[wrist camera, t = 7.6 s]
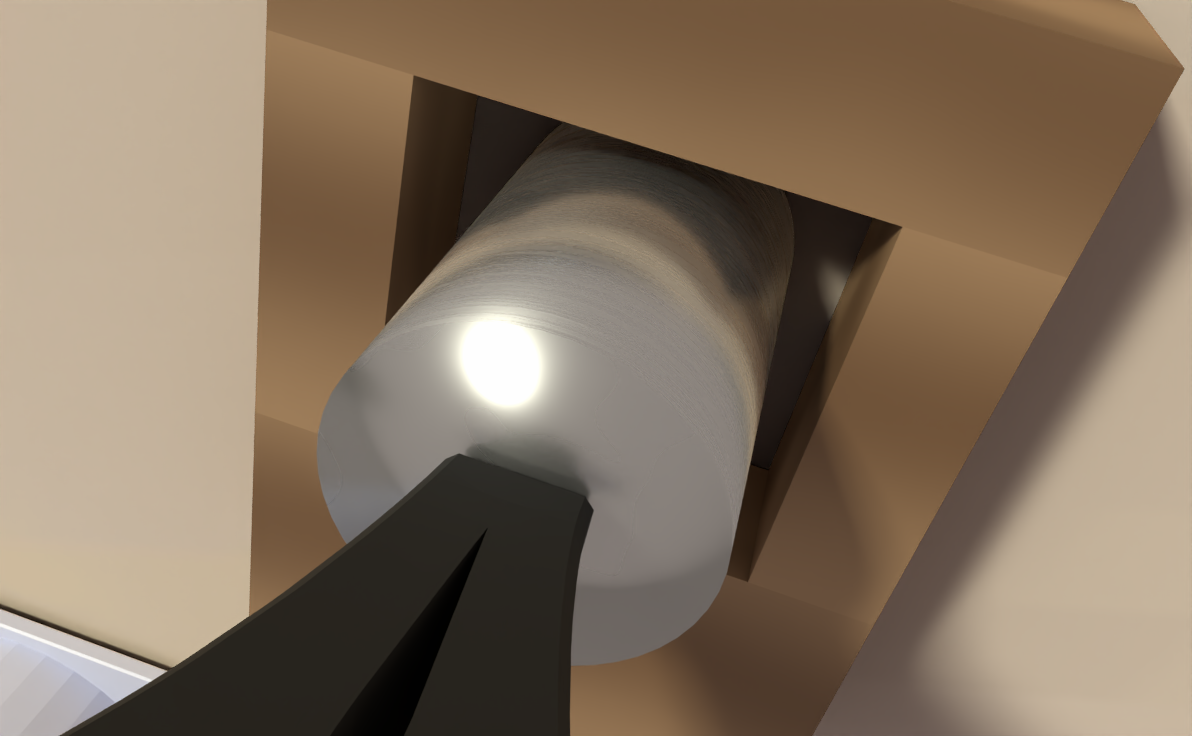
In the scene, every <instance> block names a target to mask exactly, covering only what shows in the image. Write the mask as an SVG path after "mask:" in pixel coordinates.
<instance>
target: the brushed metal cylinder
mask: <svg viewBox="0 0 1192 736" xmlns="http://www.w3.org/2000/svg"><path fill="white" fill-rule="evenodd" d="M794 241H795V239H794V227H793V219H792V215H791V211H790V206H789V203H788V200H787V198H786V195H785V192H784V190H782V189H779V188H776V187H773V186H770V185H766V184H763V183H760V182H757V181H753V180H750V179H747V178H744V177H740V176H737V175H734V174H731V173H728V172H724V171H721V170H718V169H715V168H711V167H708V166H705V165H702V164H699V163H695V162H692V161H689V160H686V159H682V158H679V157H676V156H673V155H670V154H666V153H663V152H660V151H657V150H653V149H650V148H647V147H644V146H640V145H637V144H634V143H631V142H628V141H624V140H621V139H618V138H615V137H611V136H608V135H605V134H602V133H599V132H595V131H592V130H589V129H586V128H582V127H579V126H576V125H573V124H570V123H566V122H563V123H562V124H561V125H559V126H558V127H557V128H556V129H554V130H553V131H552V132H551V133H550V134H549V135H548V136H547V137H546V138H545V139H544V140H543V141H542V142H541V143H540V144H539V146H538V147H537V148H536V149H535V150H534V151H533V153H532V154H531V155H530V156H529V157H528V159H527V160H526V161H525V162H524V163H523V164H522V166H521V167H520V168H519V169H518V170H517V171H516V173H515V174H514V175H513V176H512V177H511V179H510V180H509V181H508V182H507V183H506V184H505V186H504V187H503V188H502V189H501V190H500V191H499V193H498V194H497V195H496V196H495V197H494V199H493V200H492V201H491V202H490V203H489V204H488V206H487V207H486V208H485V209H484V210H483V212H482V213H481V214H480V215H479V216H478V217H477V219H476V220H475V221H474V222H473V223H472V224H471V226H470V227H469V228H468V229H467V230H466V232H465V233H464V234H463V235H462V236H461V237H460V239H459V240H458V241H457V242H456V243H455V244H454V246H453V247H452V248H451V249H450V250H449V252H448V253H447V254H446V255H445V256H444V257H443V259H442V260H441V261H440V262H439V263H438V265H437V266H436V267H435V268H434V269H433V270H432V272H431V273H430V274H429V275H428V276H427V277H426V279H425V280H424V281H423V282H422V283H421V285H420V286H419V287H418V288H417V289H416V290H415V292H414V293H413V294H412V295H411V296H410V297H409V299H408V300H407V301H406V302H405V303H404V305H403V306H402V307H401V308H400V309H399V310H398V312H397V313H396V314H395V315H394V316H393V317H392V319H391V320H390V321H389V322H388V323H387V325H386V326H385V327H384V328H383V329H382V330H381V332H380V333H379V334H378V335H377V336H376V338H375V339H374V340H373V341H372V342H371V343H370V345H369V346H368V347H367V348H366V349H365V350H364V352H363V353H362V354H361V355H360V356H359V358H358V359H357V360H356V361H355V362H354V363H353V365H352V366H351V367H350V368H349V369H348V370H347V372H346V373H345V374H344V375H343V377H342V378H341V380H340V381H339V383H338V384H337V385H336V387H335V388H334V390H333V391H332V393H331V395H330V397H329V400H328V402H327V404H326V406H325V409H324V411H323V414H322V418H321V422H320V426H319V430H318V440H317V464H318V475H319V479H320V484H321V488H322V492H323V496H324V499H325V501H326V504H327V507H328V509H329V512H330V515H331V517H332V519H333V521H334V523H335V525H336V527H337V529H338V530H339V532H340V534H341V536H342V538H343V539H344V541H345V542H346V544H348V543H349V542H350V541H352V540H353V539H354V538H355V537H356V536H358V535H359V534H360V533H361V532H363V531H364V530H365V529H366V528H367V527H369V526H370V525H371V524H372V523H374V522H375V521H376V520H377V519H378V518H380V517H381V516H382V515H383V514H385V513H386V512H387V511H388V510H389V509H390V508H392V507H393V506H394V505H395V504H396V503H397V502H399V501H400V500H401V499H402V498H403V497H404V496H406V495H407V494H408V493H409V492H410V491H411V490H412V489H413V488H415V487H416V486H417V485H418V484H419V483H420V482H421V481H422V480H423V479H425V478H426V477H427V476H428V475H429V474H430V473H431V472H432V471H433V470H434V469H435V468H436V467H437V466H439V465H440V464H441V463H442V462H443V461H444V460H445V459H446V458H449V457H451V456H454V455H456V454H459V453H460V454H462V455H465V456H468V457H471V458H474V459H477V460H480V461H483V462H486V463H489V464H492V465H495V466H498V467H500V468H503V469H506V470H509V471H512V472H515V473H518V474H521V475H524V476H527V477H530V478H533V479H535V480H538V481H541V482H544V483H547V484H550V485H553V486H556V487H559V488H562V489H565V490H568V491H570V492H573V493H576V494H579V495H582V496H585V497H586V498H587V500H588V502H589V503H590V505H591V506H592V508H593V509H594V512H593V515H592V519H591V522H590V526H589V529H588V532H587V536H586V539H585V543H584V546H583V550H582V553H581V558H580V564H579V570H578V577H577V584H576V594H575V604H574V613H573V626H572V643H571V666H580V665H598V664H605V663H613V662H618V661H622V660H626V659H630V658H634V657H638V656H641V655H643V654H646V653H648V652H651V651H653V650H656V649H658V648H660V647H662V646H664V645H665V644H667V643H669V642H671V641H672V640H674V639H676V638H678V637H679V636H680V635H682V634H683V633H684V632H685V631H687V630H688V629H689V628H690V627H692V626H693V625H694V624H695V623H696V622H697V621H698V620H699V619H700V618H701V616H702V615H703V614H704V613H705V612H706V611H707V610H708V609H709V607H710V605H711V604H712V602H713V601H714V599H715V598H716V596H717V594H718V593H719V591H720V589H721V586H722V584H723V581H724V579H725V576H726V574H727V571H728V566H729V561H730V556H731V552H732V547H733V542H734V537H735V533H736V528H737V523H738V518H739V514H740V509H741V504H742V499H743V495H744V490H745V485H746V481H747V476H748V471H749V466H750V462H751V457H752V452H753V447H754V443H755V438H756V433H757V428H758V424H759V419H760V414H761V409H762V405H763V400H764V395H765V390H766V386H767V381H768V376H769V371H770V367H771V362H772V357H773V352H774V348H775V343H776V338H777V333H778V329H779V324H780V319H781V314H782V310H783V305H784V300H785V295H786V291H787V286H788V281H789V276H790V272H791V267H792V262H793V257H794Z"/></svg>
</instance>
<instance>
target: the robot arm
mask: <svg viewBox="0 0 1192 736" xmlns="http://www.w3.org/2000/svg"><path fill="white" fill-rule="evenodd" d="M593 512H594V509H593V508H592V506H591V505H590V503H589V502H588V500H587V498H586V497H585V496H582V495H579V494H576V493H573V492H570V491H568V490H565V489H562V488H559V487H556V486H553V485H550V484H547V483H544V482H541V481H538V480H535V479H533V478H530V477H527V476H524V475H521V474H518V473H515V472H512V471H509V470H506V469H503V468H500V467H498V466H495V465H492V464H489V463H486V462H483V461H480V460H477V459H474V458H471V457H468V456H465V455H462V454H460V453H459V454H456V455H454V456H451V457H449V458H446V459H445V460H444V461H443V462H442V463H441V464H440V465H439V466H437V467H436V468H435V469H434V470H433V471H432V472H431V473H430V474H429V475H428V476H427V477H426V478H425V479H423V480H422V481H421V482H420V483H419V484H418V485H417V486H416V487H415V488H413V489H412V490H411V491H410V492H409V493H408V494H407V495H406V496H404V497H403V498H402V499H401V500H400V501H399V502H397V503H396V504H395V505H394V506H393V507H392V508H390V509H389V510H388V511H387V512H386V513H385V514H383V515H382V516H381V517H380V518H378V519H377V520H376V521H375V522H374V523H372V524H371V525H370V526H369V527H367V528H366V529H365V530H364V531H363V532H361V533H360V534H359V535H358V536H356V537H355V538H354V539H353V540H352V541H350V542H349V543H348V544H346V545H345V546H344V547H342V548H341V549H340V550H339V551H337V552H336V553H335V554H333V555H332V556H331V557H329V558H328V559H327V560H325V561H324V562H323V563H321V564H320V565H319V566H318V567H316V568H315V569H314V570H312V571H311V572H310V573H308V574H307V575H306V576H304V577H303V578H302V579H300V580H299V581H298V582H297V583H295V584H294V585H293V586H291V587H290V588H289V589H287V590H286V591H285V592H283V593H282V594H280V595H279V596H278V597H276V598H275V599H274V600H272V601H271V602H269V603H268V604H267V605H265V606H264V607H262V608H261V609H259V610H258V611H256V612H255V613H253V614H252V615H250V616H249V617H247V618H246V619H244V620H243V621H242V622H240V623H239V624H237V625H236V626H234V627H233V628H231V629H230V630H228V631H227V632H225V633H224V634H222V635H221V636H220V637H218V638H217V639H215V640H214V641H212V642H211V643H209V644H208V645H206V646H205V647H203V648H202V649H200V650H199V651H197V652H196V653H195V654H193V655H192V656H190V657H189V658H187V659H186V660H184V661H182V662H181V663H179V664H178V665H176V666H175V667H173V668H171V669H170V670H168V671H166V670H164V669H161V668H158V667H156V666H153V665H150V664H148V663H145V662H142V661H140V660H137V659H134V658H131V657H129V656H126V655H123V654H121V653H118V652H115V651H113V650H110V649H107V648H105V647H102V646H99V645H96V644H94V643H91V642H88V641H86V640H83V639H80V638H78V637H75V636H72V635H70V634H67V633H64V632H62V631H59V630H56V629H53V628H51V627H48V626H45V625H43V624H40V623H37V622H35V621H32V620H29V619H27V618H24V617H21V616H18V615H16V614H13V613H10V612H8V611H5V610H2V609H0V736H570V686H571V643H572V626H573V613H574V604H575V594H576V584H577V577H578V570H579V564H580V558H581V553H582V550H583V546H584V543H585V539H586V536H587V532H588V529H589V526H590V522H591V519H592V515H593Z"/></svg>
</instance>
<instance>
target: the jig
mask: <svg viewBox="0 0 1192 736" xmlns="http://www.w3.org/2000/svg"><path fill="white" fill-rule="evenodd" d="M1183 70H1184V67H1183V66H1182V65H1181V64H1180V62H1179V61H1178V60H1177V58H1176V57H1175V56H1174V54H1173V53H1172V52H1171V50H1170V49H1169V48H1168V47H1167V45H1166V44H1165V43H1164V41H1163V40H1162V39H1161V37H1160V36H1159V35H1158V34H1157V32H1156V31H1155V30H1154V28H1153V27H1152V26H1151V24H1150V23H1149V22H1148V21H1147V19H1146V18H1145V17H1144V15H1143V14H1142V13H1141V11H1140V10H1139V9H1138V8H1137V6H1136V5H1135V4H1132V3H1128V2H1125V1H1121V0H267V26H266V60H265V94H264V128H263V162H262V196H261V230H260V264H259V298H258V332H257V366H256V401H255V435H254V469H253V503H252V537H251V571H250V605H249V616H250V615H252V614H253V613H255V612H256V611H258V610H259V609H261V608H262V607H264V606H265V605H267V604H268V603H269V602H271V601H272V600H274V599H275V598H276V597H278V596H279V595H280V594H282V593H283V592H285V591H286V590H287V589H289V588H290V587H291V586H293V585H294V584H295V583H297V582H298V581H299V580H300V579H302V578H303V577H304V576H306V575H307V574H308V573H310V572H311V571H312V570H314V569H315V568H316V567H318V566H319V565H320V564H321V563H323V562H324V561H325V560H327V559H328V558H329V557H331V556H332V555H333V554H335V553H336V552H337V551H339V550H340V549H341V548H342V547H344V546H345V545H346V542H345V541H344V539H343V538H342V536H341V534H340V532H339V530H338V529H337V527H336V525H335V523H334V521H333V519H332V517H331V515H330V512H329V509H328V507H327V504H326V501H325V499H324V496H323V492H322V488H321V484H320V479H319V475H318V464H317V440H318V430H319V426H320V422H321V418H322V414H323V411H324V409H325V406H326V404H327V402H328V400H329V397H330V395H331V393H332V391H333V390H334V388H335V387H336V385H337V384H338V383H339V381H340V380H341V378H342V377H343V375H344V374H345V373H346V372H347V370H348V369H349V368H350V367H351V366H352V365H353V363H354V362H355V361H356V360H357V359H358V358H359V356H360V355H361V354H362V353H363V352H364V350H365V349H366V348H367V347H368V346H369V345H370V343H371V342H372V341H373V340H374V339H375V338H376V336H377V335H378V334H379V333H380V332H381V330H382V329H383V328H384V327H385V326H386V325H387V323H388V322H389V321H390V320H391V319H392V317H393V316H394V315H395V314H396V313H397V312H398V310H399V309H400V308H401V307H402V306H403V305H404V303H405V302H406V301H407V300H408V299H409V297H410V296H411V295H412V294H413V293H414V292H415V290H416V289H417V288H418V287H419V286H420V285H421V283H422V282H423V281H424V280H425V279H426V277H427V276H428V275H429V274H430V273H431V272H432V270H433V269H434V268H435V267H436V266H437V265H438V263H439V262H440V261H441V260H442V259H443V257H444V256H445V255H446V254H447V253H448V252H449V250H450V249H451V248H452V247H453V246H454V244H455V239H456V233H457V226H458V220H459V213H460V207H461V200H462V194H463V187H464V181H465V174H466V168H467V161H468V155H469V148H470V142H471V135H472V129H473V122H474V116H475V109H476V103H477V96H478V95H479V96H482V97H486V98H489V99H492V100H495V101H499V102H502V103H505V104H508V105H511V106H515V107H518V108H521V109H524V110H528V111H531V112H534V113H537V114H540V115H544V116H547V117H550V118H553V119H557V120H560V121H563V122H566V123H570V124H573V125H576V126H579V127H582V128H586V129H589V130H592V131H595V132H599V133H602V134H605V135H608V136H611V137H615V138H618V139H621V140H624V141H628V142H631V143H634V144H637V145H640V146H644V147H647V148H650V149H653V150H657V151H660V152H663V153H666V154H670V155H673V156H676V157H679V158H682V159H686V160H689V161H692V162H695V163H699V164H702V165H705V166H708V167H711V168H715V169H718V170H721V171H724V172H728V173H731V174H734V175H737V176H740V177H744V178H747V179H750V180H753V181H757V182H760V183H763V184H766V185H770V186H773V187H776V188H779V189H782V190H786V191H789V192H792V193H795V194H799V195H802V196H805V197H808V198H811V199H815V200H818V201H821V202H824V203H828V204H831V205H834V206H837V207H840V208H844V209H847V210H850V211H853V212H857V213H860V214H863V215H866V216H870V217H873V220H872V222H871V225H870V227H869V229H868V232H867V234H866V237H865V239H864V241H863V244H862V246H861V249H860V251H859V254H858V256H857V258H856V261H855V263H854V266H853V268H852V270H851V273H850V275H849V278H848V280H847V282H846V285H845V287H844V290H843V292H842V294H841V297H840V299H839V302H838V304H837V307H836V309H835V311H834V314H833V316H832V319H831V321H830V323H829V326H828V328H827V331H826V333H825V335H824V338H823V340H822V343H821V345H820V348H819V350H818V352H817V355H816V357H815V360H814V362H813V364H812V367H811V369H810V372H809V374H808V376H807V379H806V381H805V384H804V386H803V389H802V391H801V393H800V396H799V398H798V401H797V403H796V405H795V408H794V410H793V413H792V415H791V417H790V420H789V422H788V425H787V427H786V430H785V432H784V434H783V437H782V439H781V442H780V444H779V446H778V449H777V451H776V454H775V456H774V458H773V461H772V463H771V466H770V468H769V471H768V470H765V469H762V468H759V467H756V466H753V465H750V466H749V471H748V476H747V481H746V485H745V490H744V495H743V499H742V504H741V509H740V514H739V518H738V523H737V528H736V533H735V537H734V542H733V547H732V552H731V556H730V561H729V566H728V571H727V574H726V576H725V579H724V581H723V584H722V586H721V589H720V591H719V593H718V594H717V596H716V598H715V599H714V601H713V602H712V604H711V605H710V607H709V609H708V610H707V611H706V612H705V613H704V614H703V615H702V616H701V618H700V619H699V620H698V621H697V622H696V623H695V624H694V625H693V626H692V627H690V628H689V629H688V630H687V631H685V632H684V633H683V634H682V635H680V636H679V637H678V638H676V639H674V640H672V641H671V642H669V643H667V644H665V645H664V646H662V647H660V648H658V649H656V650H653V651H651V652H648V653H646V654H643V655H641V656H638V657H634V658H630V659H626V660H622V661H618V662H613V663H605V664H598V665H580V666H571V686H570V736H812V735H813V733H814V731H815V730H816V728H817V726H818V724H819V723H820V721H821V719H822V717H823V715H824V714H825V712H826V710H827V708H828V706H829V705H830V703H831V701H832V699H833V697H834V696H835V694H836V692H837V690H838V688H839V687H840V685H841V683H842V681H843V680H844V678H845V676H846V674H847V672H848V671H849V669H850V667H851V665H852V663H853V662H854V660H855V658H856V656H857V654H858V653H859V651H860V649H861V647H862V645H863V644H864V642H865V640H866V638H867V637H868V635H869V633H870V631H871V629H872V628H873V626H874V624H875V622H876V620H877V619H878V617H879V615H880V613H881V611H882V610H883V608H884V606H885V604H886V602H887V601H888V599H889V597H890V595H891V594H892V592H893V590H894V588H895V586H896V585H897V583H898V581H899V579H900V577H901V576H902V574H903V572H904V570H905V568H906V567H907V565H908V563H909V561H910V559H911V558H912V556H913V554H914V552H915V551H916V549H917V547H918V545H919V543H920V542H921V540H922V538H923V536H924V534H925V533H926V531H927V529H928V527H929V525H930V524H931V522H932V520H933V518H934V516H935V515H936V513H937V511H938V509H939V508H940V506H941V504H942V502H943V500H944V499H945V497H946V495H947V493H948V491H949V490H950V488H951V486H952V484H953V482H954V481H955V479H956V477H957V475H958V473H959V472H960V470H961V468H962V466H963V465H964V463H965V461H966V459H967V457H968V456H969V454H970V452H971V450H972V448H973V447H974V445H975V443H976V441H977V439H978V438H979V436H980V434H981V432H982V430H983V429H984V427H985V425H986V423H987V422H988V420H989V418H990V416H991V414H992V413H993V411H994V409H995V407H996V405H997V404H998V402H999V400H1000V398H1001V396H1002V395H1003V393H1004V391H1005V389H1006V387H1007V386H1008V384H1009V382H1010V380H1011V379H1012V377H1013V375H1014V373H1015V371H1016V370H1017V368H1018V366H1019V364H1020V362H1021V361H1022V359H1023V357H1024V355H1025V353H1026V352H1027V350H1028V348H1029V346H1030V344H1031V343H1032V341H1033V339H1034V337H1035V336H1036V334H1037V332H1038V330H1039V328H1040V327H1041V325H1042V323H1043V321H1044V319H1045V318H1046V316H1047V314H1048V312H1049V310H1050V309H1051V307H1052V305H1053V303H1054V301H1055V300H1056V298H1057V296H1058V294H1059V293H1060V291H1061V289H1062V287H1063V285H1064V284H1065V282H1066V280H1067V278H1068V276H1069V275H1070V273H1071V271H1072V269H1073V267H1074V266H1075V264H1076V262H1077V260H1078V258H1079V257H1080V255H1081V253H1082V251H1083V250H1084V248H1085V246H1086V244H1087V242H1088V241H1089V239H1090V237H1091V235H1092V233H1093V232H1094V230H1095V228H1096V226H1097V224H1098V223H1099V221H1100V219H1101V217H1102V215H1103V214H1104V212H1105V210H1106V208H1107V207H1108V205H1109V203H1110V201H1111V199H1112V198H1113V196H1114V194H1115V192H1116V190H1117V189H1118V187H1119V185H1120V183H1121V181H1122V180H1123V178H1124V176H1125V174H1126V172H1127V171H1128V169H1129V167H1130V165H1131V164H1132V162H1133V160H1134V158H1135V156H1136V155H1137V153H1138V151H1139V149H1140V147H1141V146H1142V144H1143V142H1144V140H1145V138H1146V137H1147V135H1148V133H1149V131H1150V129H1151V128H1152V126H1153V124H1154V122H1155V121H1156V119H1157V117H1158V115H1159V113H1160V112H1161V110H1162V108H1163V106H1164V104H1165V103H1166V101H1167V99H1168V97H1169V95H1170V94H1171V92H1172V90H1173V88H1174V86H1175V85H1176V83H1177V81H1178V79H1179V78H1180V76H1181V74H1182V72H1183Z"/></svg>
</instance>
